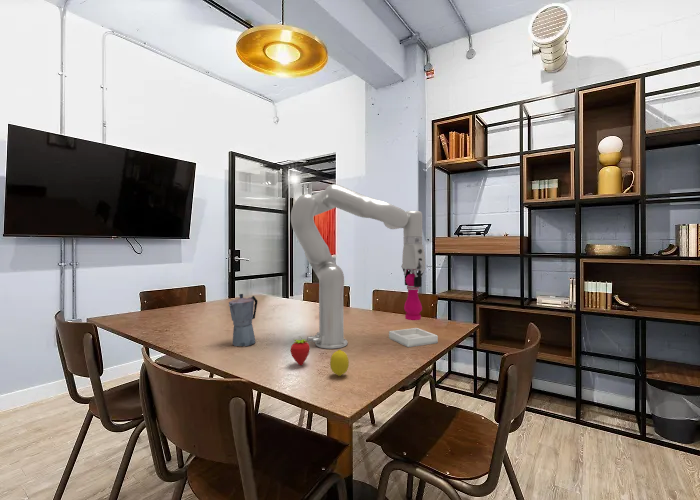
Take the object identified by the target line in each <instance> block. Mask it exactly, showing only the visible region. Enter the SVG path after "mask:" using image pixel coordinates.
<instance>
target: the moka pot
mask: <svg viewBox="0 0 700 500" xmlns="http://www.w3.org/2000/svg"><path fill="white" fill-rule="evenodd" d="M238 296H239V298H235V299H232V300H231V301H229V302H228V307H229V310H230V317H231V321H232V322H233V323H232V324H233V333H232V346H233V345H234V346H233V347H236V346H242V347H241V348H243V346H245V347H249V346H252V345H255V343H256V337H255V332H254V331H255V330H254V326H253V320H255V319H256V313H257V307H258V299H257V298H256V297H255V295H252V296H251V297H247V298H246V297H244V294H243V293H239V294H238Z"/></svg>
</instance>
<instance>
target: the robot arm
mask: <svg viewBox="0 0 700 500" xmlns="http://www.w3.org/2000/svg"><path fill="white" fill-rule="evenodd" d="M335 208H336V209H339V210H342V211H344V212H347V213H349V214H352V215H354V216H357V217H360V218H363V219H365V218H366V219H372V220H376V221H379V222H382V223H383V225H384V226H385V227H386V228H387V229H390V230H397V229H403V246H402V247H403V249H402V264H401V267H400V268H401V269H402V271H403V275H404V286H407V285H408V284H407V283H406V276H407V275H409V274H412V273H411V270H414V274H415V277H414V287H419V288H422V281H423V280H422V277H423V275H424V272H425V271H426V259H425V258H426V256H425V248H424V247H425V246H424V245H423V212H422V211H419V210H407V211H405V210H404V209H402V208H400V207H398V206H396V205H394V204H391V203H388V202H386V201H383V200H378V199H376V198H374V197H369V196H366V195H364V194H361V193H359V192H357V191H354V190H352V189H349V188H348V187H345V186H342V185H340V184H336V183H333V184H330V185H328V186H327V187H326V188H325V189H323V190H321V191H318V192H316V193H314V194H310V193H304V194H302V195H299V197H298V198H296V200H295V202H294V204H293V205H292V208H291V212H290V223H291V228H292V230H293V232H294V235H295V236H296V238H297V239H298V242H299V244H300V246H301V247H302V250H303V251H304V254H305V258H306V259H307V262H308V263H309V265H310V266H311V268H312V270H313V272H314V273H315V275H316V277H317V279H318V280H319V282H318V283H319V287H318V289H319V290H318V305H319V307H318V310H319V311H318V313H319V314H318V317H319V319H318V320H319V321H318V323H319V324H318V325H319V326H318V327H319V330H318V332H317V333H316V334H315V335H310V336H309V335H308V336H307V337H306V339H307V340H306V341H308V342H312V343H315V346H316V347H318V348H321V349H329V350H331V349H332V350H333V349H341V348H344V347H346V346H348V340H347V339H346V338H344V327H345V326H344V289H345V275H344V271H343V269H342V268H341V267H340V266H339V265H337V262H336V261H335V260H334V257H333V256H332V254H331V252H330V248H329V246H328V245H327V242H325V240H324V239H323V237H322V235H321V233H320V231H319V229H318V227H317V226H316V223H315V220H314V217H316V216H318V215H321V214H323V213H325V212H328V211H331V210H333V209H335ZM308 342H307V343H308Z"/></svg>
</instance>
